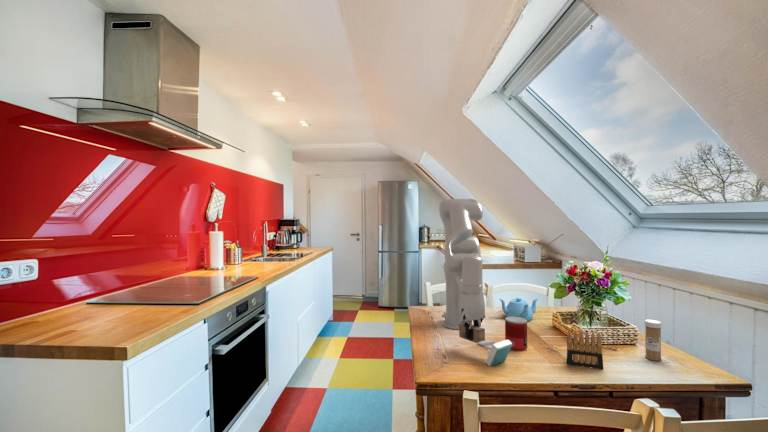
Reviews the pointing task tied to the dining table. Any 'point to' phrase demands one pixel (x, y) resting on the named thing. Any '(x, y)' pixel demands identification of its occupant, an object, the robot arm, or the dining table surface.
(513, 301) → the teapot
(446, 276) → the robot arm
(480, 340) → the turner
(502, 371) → the dining table surface
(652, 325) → the sprinkles bottle
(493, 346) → the tile
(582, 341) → the ammunition clip
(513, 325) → the canned food
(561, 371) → the dining table surface
